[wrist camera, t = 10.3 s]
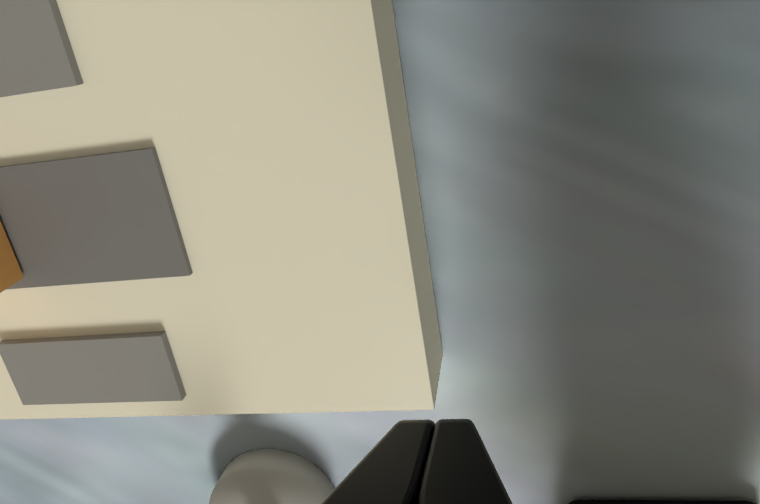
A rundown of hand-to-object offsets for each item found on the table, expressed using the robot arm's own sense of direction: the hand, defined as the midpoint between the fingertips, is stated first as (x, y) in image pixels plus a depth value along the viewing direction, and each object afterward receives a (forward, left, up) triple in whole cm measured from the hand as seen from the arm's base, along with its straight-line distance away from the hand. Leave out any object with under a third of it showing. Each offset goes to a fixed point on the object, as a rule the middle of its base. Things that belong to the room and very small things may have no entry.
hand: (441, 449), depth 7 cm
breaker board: (+13, 0, -13) cm, 18 cm away
